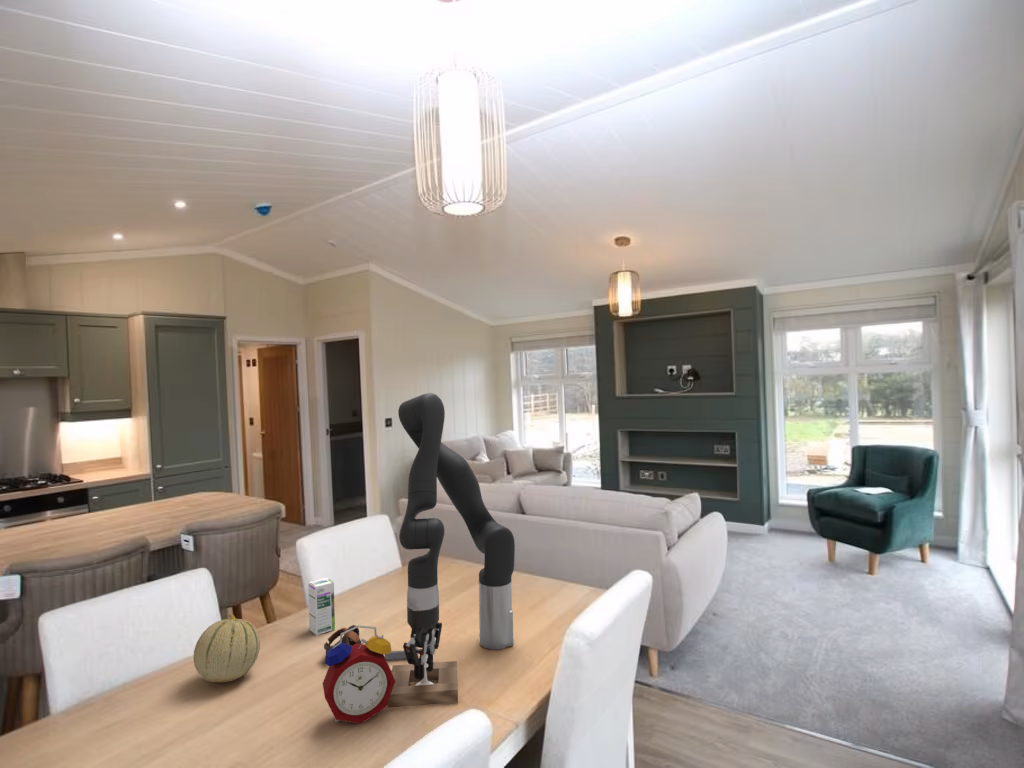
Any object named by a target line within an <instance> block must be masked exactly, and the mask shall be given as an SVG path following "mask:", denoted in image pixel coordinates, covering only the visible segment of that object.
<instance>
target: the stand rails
mask: <svg viewBox="0 0 1024 768" xmlns="http://www.w3.org/2000/svg"><path fill="white" fill-rule="evenodd" d="M384 656H385V659H386V661H387V662H391V661H407V658H406V655H405V651H404V650H393V651H392V650H391V652H390V654H384ZM391 672H392V670H391Z"/></svg>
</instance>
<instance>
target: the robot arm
mask: <svg viewBox="0 0 1024 768" xmlns="http://www.w3.org/2000/svg"><path fill="white" fill-rule="evenodd" d="M397 412H398V419H399V421H400V424H401V426H402V428H403V429H404V431H405V432H406V434H408V436H409V438H410V439H411V440H412V442H413V443H414V445H415V446H416V447H417V448H418V450H417V453H416V455H415V457H414V460H413V462H412V464H411V467H410V469H409V474H408V483H407V484H408V485H407V486H408V488H407V504H406V510H405V514H404V517H403V520H402V524H401V526H400V530H399V535H398V537H399V539H398V540H399V542H400V545H401V546H402V548H403V549H405V550H408V551H409V550H427V549H428V550H429V551H428V552H427V553H426V554H424V555H419V556H417V557H414V558H411V559H410V560H409V561H408V564H407V591H406V611H407V612H406V615H407V616H406V619H407V620H406V621H407V625H409V626H410V628H411V631H410V632H411V633H410V639H409V641H407V642H404V643H403V645H402V648H403V651H405V655H406V658H407V660H406V662H407V664H413V665H414V676H415V678H416V679H419V680H422V679H423V678H424V663H423V662H424V654H427V655H428V658H427V662H426V663H427V664H428V667H427V668H426V671H429V672H431V671H432V670H433V663H434V655H435V652H436V650H438V649H439V646H440V640H441V634H442V630H443V629H442V628H443V623H442V622H439V620H440V601H439V600H440V595H439V594H440V593H439V591H440V590H439V586H438V585H439V583H438V579H439V578H438V565H439V556H440V552H441V548H442V545H443V541H444V538H445V530H446V529H445V526H444V523H443V522H442V520H441V519H440V518H435V517H429V518H416V517H417V516H418V515H419V514H420V513H422V512H425V511H430V510H433V509H434V508H435V507H436V506H437V504H438V503H437V501H438V485H437V484H438V481H439V484H440V485H441V487H442V488H443V491H444V492H445V494H446V495H447V497H448V498H449V500H450V501H451V503H452V504H453V507H454V508H455V509H456V510H457V512H458V513H459V514H460V516H461V518H462V519H463V521H464V523H465V525H466V527H467V530H468V531H469V534H470V536H471V539H472V541H473V542H474V544H475V547H476V549H477V550H478V551H480V553H482V554H484V566H483V568H481V569H480V570H479V572H478V612H479V613H478V615H479V617H478V618H479V621H478V623H479V624H478V625H479V626H478V627H479V634H478V635H479V636H478V637H479V644H480V645H481V646H482V647H483V648H485V649H488V650H502V649H506V648H508V647H512V646H514V611H513V598H512V597H513V595H512V594H513V593H512V590H513V589H512V585H513V584H512V576H513V573H514V570H515V555H516V554H515V553H516V552H515V550H516V548H515V546H516V544H515V538H514V534H513V532H512V531H511V530H510V528H508V527H506V526H504V525H502V524H500V523H498V522H497V521H496V520H495V519H494V517H493V516H492V515H491V513H490V511H489V510H488V508H487V507H486V506H485V503H484V499H483V497H482V493H481V488H480V487H481V486H480V484H479V481H478V478H477V476H476V474H475V473H474V470H472V468H471V466H470V465H469V463H468V461H467V460H466V458H464V457H463V456H462V455H460V454H459V453H457V451H454V450H453V449H452V448H450V447H448V445H446V444H444V443H443V442H442V438H443V437H442V436H443V431H444V425H445V418H446V417H445V415H446V414H445V405H444V403H443V401H442V399H441V398H440V396H439V395H437V394H435V393H433V392H428V393H424V394H421V395H418V396H415V397H413V398H411V399H408V400H405V401H404V402H402V403H401V404H400V405H399V407H398V411H397ZM437 480H438V481H437ZM418 654H419V655H418Z"/></svg>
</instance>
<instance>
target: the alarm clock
mask: <svg viewBox="0 0 1024 768" xmlns="http://www.w3.org/2000/svg"><path fill="white" fill-rule="evenodd" d="M356 628H361V629H363V628H364V629H373V631H374V636H372V637H370V638H369V639H368V640H366V639H364V638H361V639H360V640H361V643H362V644H359V643H356V644H354V645H353V646H349V645H347V644H345V643H342V637H343V636H344V634H345V633H347V632H349V631H352V630H354V629H356ZM377 633H378V632H377V627H376V626H369V625H359V624H358V625H356V627H354V628H352V629H349V630H347V631H345V632H343V633H341V634H340V636H339V640H340V642H339V643H338V644H337V645H334V644H335V643H334V644H332V645H333V647H332V648H331V649H330V650H328V652H327V654H326V653H325V658H324V665H326V666H327V667H328V669H327V671H326V672H325V673H326V674H325V676H324V678H323V682H322V689H323V693H324V694H323V695H324V699H325V701H326V703H327V705H328V707H329V708H330V711H331V713H332V715H333V717H334V722H335V723H338V722H339V721H340V722H348V723H353V724H354V723H355V724H363V723H365V722H366V721H368V720H369V719H371V718H372V717H374V716H376V714H378V713H380V712H383V710H384V709H387V703H388V700H389V698H390V695H391V692H392V689H393V687H394V684H395V679H394V677H393V674H392V672H391V671H392V669H391V667H390V666H389V665H390V664H389V663H388V661H386V659H385V654H390V652H391V651H392V647H391V642H390V641H389V640H387V639H386V638H384V635H383V634H381V636H380V635H378V634H377Z"/></svg>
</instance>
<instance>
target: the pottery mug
mask: <svg viewBox="0 0 1024 768" xmlns="http://www.w3.org/2000/svg"><path fill="white" fill-rule="evenodd" d="M356 626H357V625H355V624H352V625H350V626H349V627H348V628H347V627H342V628H339V629H337V630H336V631H335V632H333V633H332V634H331V635H330V636H329V637H328V638H327V641H328V642H327V641H326V642H325V643H324V645H323V648H324V650H325V655H326V654H327V652H328V650H330V649H331V648H332V647H333V644H332V643H333V642H335V640H336V639H337V638H340V634H341V633H343V632H345V631H347V630H349V629H352V628H354V627H356ZM359 628H360V627H358V628H356V629H354V630H352V631H349V632H347V633H345V634H343V635H342V643H345V644H347V645H349V646H353V645H354V644H356V643H359V644H362V643H363V642H362V641H361V640H362V639H361V638H360V629H359ZM339 642H340V639H339V640H338V641H337V642H336V643H334V645H337V644H338V643H339Z"/></svg>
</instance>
